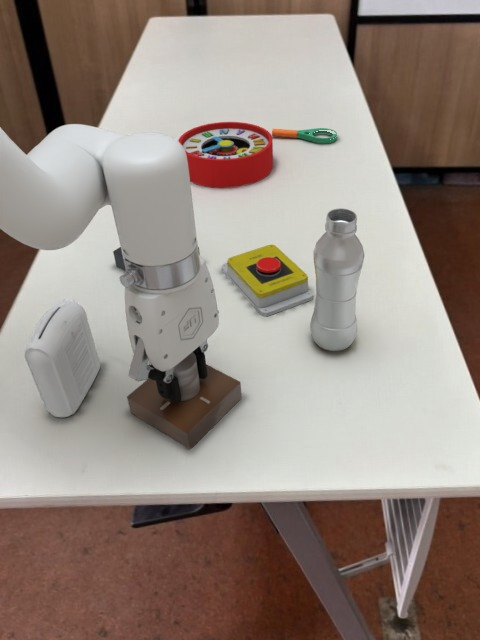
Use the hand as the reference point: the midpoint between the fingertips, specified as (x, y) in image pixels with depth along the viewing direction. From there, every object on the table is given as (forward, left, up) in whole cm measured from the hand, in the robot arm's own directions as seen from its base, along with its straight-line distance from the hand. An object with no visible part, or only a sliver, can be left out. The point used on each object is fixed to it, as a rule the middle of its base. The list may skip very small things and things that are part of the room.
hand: (183, 384), depth 70 cm
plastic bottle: (+9, +21, -4) cm, 23 cm away
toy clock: (-39, +57, -4) cm, 69 cm away
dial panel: (0, 0, -4) cm, 4 cm away
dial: (0, 0, -1) cm, 1 cm away
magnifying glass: (-33, +78, -4) cm, 85 cm away
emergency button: (-7, +27, -4) cm, 28 cm away
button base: (-25, +21, -4) cm, 33 cm away
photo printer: (-14, -6, -4) cm, 16 cm away
